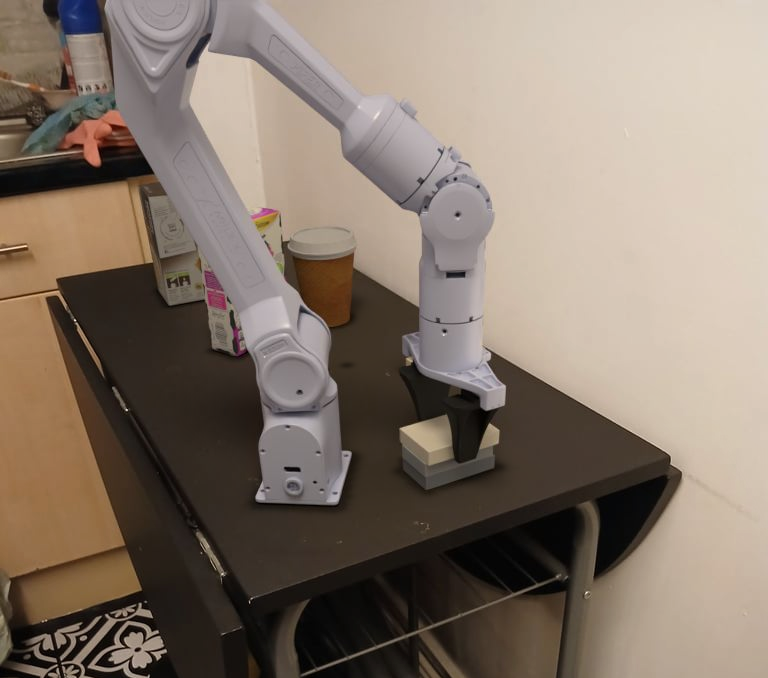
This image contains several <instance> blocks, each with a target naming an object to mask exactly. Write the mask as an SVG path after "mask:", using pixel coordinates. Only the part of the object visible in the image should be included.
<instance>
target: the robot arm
mask: <svg viewBox="0 0 768 678" xmlns="http://www.w3.org/2000/svg"><path fill="white" fill-rule="evenodd" d="M103 11H104V12H105V13H104V14H105V17H106V20H107V24H108V27H109V32H110V41H111V56H112V69H113V84H114V98H115V99H114V100H115V104H116V105H115V106H116V108H117V111H118V113H119V116H120V117H121V119H122V121H123V122H124V124H125V126H126V127H127V129H128V132H130V134H131V136H132V137H133V139H134V141H135V142H136V144H137V146H138V148H139V150H140V151H141V154H143V156H144V158H145V160H146V161H147V163H148V165H149V167H150V168H151V169H152V172H153V173H154V175H155V177H156V178H157V180H158V182H160V183H161V185H162V187H163V188H164V190H165V192H166V193H167V195H168V197H169V198H170V200H171V202H172V204H173V205H174V207H175V209H176V210H177V212H178V214H179V215H180V217H181V219H182V220H183V222H184V224H185V226H186V227H187V229H188V231H189V232H190V234H191V236H192V237H193V239H194V241H195V242H196V244H197V246H198V248H199V249H200V251H201V253H202V254H203V256H204V258H205V259H206V261H207V263H208V264H209V266H210V268H211V270H212V271H213V273H214V275H215V276H216V278H217V280H218V281H219V283H220V285H221V286H222V288H223V290H224V291H225V293H226V295H227V297H228V298H229V300H230V302H231V303H232V305H233V307H234V308H235V310H236V312H237V313H238V316H239V319H240V323H241V327H242V332H243V336H244V340H245V344H246V347H247V350H248V351H247V352H248V353H249V355H250V356H251V358H252V360H253V363H254V367H255V379H256V384H257V387H258V390H259V397H260V404H261V411H262V419H263V429H262V432H261V435H260V437H259V441H258V455H259V464H260V468H261V469H260V470H261V477H262V481H261V483H260V486H259V488H258V490H257V492H256V494H255V496H254V497H255V502H257V503H262V504H288V505H289V504H290V505H293V504H294V505H318V506H336V505H339V503H340V500H341V496H342V493H343V489H344V486H345V482H346V479H347V474H348V472H349V467H350V464H351V460H352V458H353V455H352V451H350V450H343V448H342V437H341V433H342V432H341V419H340V407H339V392H338V384H337V383H336V381H335V380H334V379H333V378H332V377H331V375H330V372H329V360H330V359H329V358H330V352H331V347H332V334H331V330H330V327H328V326H327V324H326V323H325V322H324V320H323V319H322V318H321V317H320V316H318V315H317V314H315V313H314V312H313V311H311V310H310V309H309V308H308V307H307V306H306V305H305V304H304V302H303V301H302V298H301V294H300V292H298V291H297V290H296V289H295V288H294V287H293V286H292V285H290V283H288V282H287V280H286V281H285V279H284V277H283V275H282V274H281V272H280V270H279V268H278V266H277V264H276V263H275V261H274V259H273V257H272V255H271V253H270V251H269V250H268V248H267V246H266V244H265V242H264V240H263V239H262V237H261V235H260V233H259V231H258V229H257V227H256V226H255V224H254V222H253V220H252V218H251V216H250V214H249V213H248V211H247V207H246V205H245V202H244V201H243V199H242V198H241V196H240V194H239V193H238V190H237V189H236V187H235V185H234V183H233V181H232V179H231V177H230V176H229V174H228V172H227V170H226V168H225V166H224V164H223V163H222V161H221V159H220V157H219V156H218V154H217V151H216V150H215V148H214V146H213V144H212V142H211V140H210V139H209V137H208V135H207V133H206V132H205V130H204V128H203V126H202V124H201V122H200V120H199V118H198V117H197V115H196V112H195V111H194V108H192V106H191V102H190V100H191V99H190V98H191V94H192V90H193V87H194V83H195V79H196V75H197V71H198V67H199V64H200V58H201V56H202V54H203V52H204V51H205V49H206V47H207V46H208V47H207V52H209V53H212V54H219V55H226V56H232V57H238V58H245V59H251V60H253V61H254V62H256V63H257V64H258V65H259V66H261V67H262V68H263V69H264V70H266V71H267V72H268V73H269V74H270V75H272V77H274V78H275V79H276V80H277V81H279V82H280V83H281V84H282V85H283V86H285V87H286V88H287V89H288V90H290V91H291V92H293V94H295V95H296V96H297V97H298V98H299V99H300V100H301V101H303V102H304V103H305V104H306V105H308V106H309V107H310V108H311V109H313V111H315V112H316V113H317V114H318V115H320V116H321V117H322V118H324V120H325V121H327V122H328V123H329V124H331V125H332V126H333V127H334V128H335V129H337V130H338V132H339V135H340V146H341V154H342V157H343V158H344V160H346V162H348V163H349V164H350V165H351V166H353V167H354V168H355V169H356V170H357V171H358V172H359V173H361V175H363V176H364V177H365V178H366V179H367V180H368V181H370V182H371V183H372V184H373V185H374V186H375V187H376V188H378V189H379V190H380V191H381V192H382V193H383V194H384V195H386V196H387V197H388V198H389V199H390V200H391V201H393V202H394V203H395V204H396V205H397V206H398V207H400V208H401V209H402V210H405V211H410V212H413V213H415V214H417V216H418V218H419V226H420V229H421V256H420V258H419V261H418V325H419V326H418V329H419V331H416V332H412V333H409V334H404V335H402V336H401V345H402V347H401V349H402V350H401V351H402V353H401V354H402V355H403V356H405V358H408V357H411V356H412V357H413V362H411V365H408V366H402V367H400V369H399V370H398V371H399V372H398V374H399V377H400V378H401V379H402V381H403V383H404V385H405V387H406V389H407V391H408V393H409V395H410V396H411V397H410V398H411V400H412V403H413V406H414V410H415V413H416V417H417V421H418V423H419V422H423V421H426V420H429V419H433V418H436V417H440V416H443V415H446V414H447V417H448V420H449V423H450V428H451V434H452V447H453V453H454V459H455V461H456V462H457V463H459V464H461V463H464V462H467V461H470V460H473V459H476V457H477V454H478V451H479V448H480V445H481V442H482V439H483V436H484V434H485V431H486V429H487V427H488V425H489V423H490V424H491V421H492V419H493V418H494V416H495V415H496V413H497V412H498V410H499V409H501V407H505V405H506V391H507V386H506V384H504V383H503V382H501V381H500V380H499V378H498V377H497V375H496V374H495V373H494V372H493V369H492V368H491V367H490V366H489V364H488V362H489V361H491V359H492V353H491V352H490V351H489V350H488V349H486V348H485V349H484V348H482V346H483V339H484V318H485V316H484V315H485V299H486V298H485V297H486V295H485V294H486V271H487V261H486V258H485V252H486V248H487V237H488V235H489V234H490V232H491V230H492V228H493V225H494V222H495V217H496V212H495V211H494V210H493V202H492V199H491V196H490V193H489V191H488V189H487V188H486V186H485V184H484V183H483V181H482V179H481V178H480V176H479V175H478V174H477V172H475V170H474V169H473V168H472V165H471V164H470V162H468V161H466V160H464V159H462V156H463V155H462V153H461V151H460V150H459V149H458V148H457V147H456V146H454V145H453V144H451V145H450V146H449V147H447V146H445V145H444V143H442V141H440V139H438V137H436V136H435V135H434V134H433V133H432V132H431V131H430V130H429V129H428V128H427V127H426V126H424V125H423V124H422V123H421V122H420V121H419V120H418V119H417V118H416V115H417V114H418V109H417V107H416V105H414V104H413V102H411V100H409V99H408V98H407V97H404V98H402V100H401V101H400V102H399V101H398V100H397V99H396V98H395V97H394V96H393V95H392V94H391V93H378V94H365V93H362V92H361V90H360V89H358V88H357V86H356V85H354V83H352V82H351V80H349V79H348V78H347V77H346V76H345V75H344V74H343V73H342V72H341V71H340V70H339V69H338V68H337V67H336V66H335V65H334V64H333V63H332V62H331V61H330V59H328V58H327V57H326V55H324V54H323V53H322V52H321V51H320V50H319V49H318V47H316V46H315V45H314V44H313V43H312V42H311V41H310V40H309V39H308V38H307V37H306V36H305V35H304V34H303V33H302V32H301V31H300V30H299V29H298V28H296V26H295V25H294V24H293V23H291V22H290V21H289V19H287V17H286V16H285V15H284V14H282V12H281V11H279V10H278V8H276V7H275V6H274V4H273V3H271V2H270V1H269V0H105V5H104V10H103ZM451 386H454V387H456V388H459V389H460V393H456V394H453V395H450V396H449V393H450V390H451Z"/></svg>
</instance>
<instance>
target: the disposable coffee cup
mask: <svg viewBox="0 0 768 678" xmlns="http://www.w3.org/2000/svg"><path fill="white" fill-rule="evenodd" d="M357 246H358V240H357V239H356V238H355V234H354V232H353V230H351V229H350V228H347V227H344V226H338V225H337V226H335V225H317V226H308V227H304V228H300V229H298V230H297V229H296V230H294V231H293V232H292V233H291V234H290V236H289V242H288V243H287V249H288V251H289V253H290V255H291V256H292V262H293V266H294V270H295V276H296V279H297V284H298V289H299V295H300V297H301V299H302V301H303V302H304V304H305V305H306V306H307V307H308V308H309V309H310V310H311V311H313V312H314V313H315V314H317V315H318V316H320V317H321V318H322V319H323V320H324V322H325V323H326V324H327V326H328V328H335V327H338V326H342V325H345V324H346V323H348V322H349V321H350V319H351V305H352V294H353V293H352V292H353V290H352V289H353V275H354V264H355V263H354V262H355V251H356V249H357Z"/></svg>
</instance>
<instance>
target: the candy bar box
mask: <svg viewBox="0 0 768 678" xmlns="http://www.w3.org/2000/svg"><path fill="white" fill-rule="evenodd" d="M246 209H247V211H248V213H249V214H250V216H251V218H252V220H253V222H254V224H255V226H256V227H257V229H258V231H259V233H260V235H261V237H262V239H263V240H264V242H265V244H266V246H267V248H268V250H269V251H270V253H271V255H272V257H273V259H274V261H275V263H276V264H277V266H278V268H279V270H280V272H281V274H282V275H283V277H284V279H285V281H286V282H287V274H286V267H285V266H286V265H285V252H284V251H285V250H284V241H283V240H284V239H283V228H282V215H281V211H280V210H277V209H272V208H268V207H267V208H266V207H260V206H250V207H248V208H247V207H246ZM197 247H198V246H197ZM198 254H199V261H200V268H201V275H202V282H203V287H204V294H205V300H204V302H205V308H206V315H207V322H208V328H209V336H210V342H211V349H212V350H213V351H216V352H220V353H223V354H226V355H230V356H232V357H239V356H241V355H243V354H245V353H247V352H249V351H248V350H247V347H246V344H245V340H244V336H243V332H242V327H241V323H240V319H239V316H238V313H237V312H236V310H235V308H234V307H233V305H232V303H231V302H230V300H229V298H228V297H227V295H226V293H225V291H224V290H223V288H222V286H221V285H220V283H219V281H218V280H217V278H216V276H215V275H214V273H213V271H212V270H211V268H210V266H209V264H208V263H207V261H206V259H205V258H204V256H203V254H202V253H201V251H200V249H199V248H198Z"/></svg>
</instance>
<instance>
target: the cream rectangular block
mask: <svg viewBox="0 0 768 678" xmlns="http://www.w3.org/2000/svg"><path fill="white" fill-rule="evenodd" d="M398 431H399V432H398V436H399V439H398V441H399V443H401V444H402V445H405V446H406V447H407V448H408V449H409V450H410V451H412V452H413V453H414V454H415V455H416V456H418V457H419V458H420V459H421V460H422V461H423V462H425V463H426V464H427V465H428V466H430V465H433V464H437V463H440V462H443V461H446V460H449V459H452V458H454V453H453V447H452V434H451V428H450V423H449V420H448V417H447V414H446V415H443V416H440V417H436V418H433V419H429V420H426V421H423V422H419V421H418V422H415V423H412V424H410V425H405V426H403V427H399V429H398ZM499 443H500V430H499V429H498V428H497V427H496V426H494V425H493V424H491V422H490V423H489V425H488V427H487V429H486V431H485V434H484V436H483V439H482V442H481V445H480V448H479V450H480V449H483V448H487V447H490V446H493V447H494V446H497V445H498V444H499Z"/></svg>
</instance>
